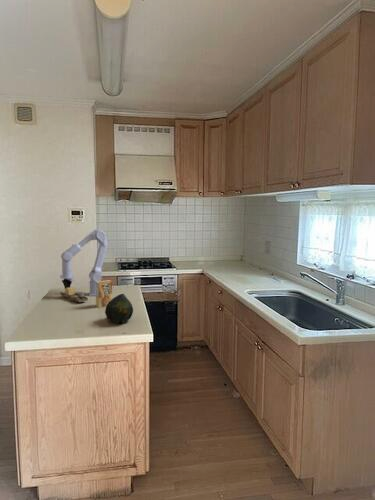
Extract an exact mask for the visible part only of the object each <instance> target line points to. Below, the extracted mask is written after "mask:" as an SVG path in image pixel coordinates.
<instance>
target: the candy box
mask: <svg viewBox="0 0 375 500" xmlns="http://www.w3.org/2000/svg"><path fill="white" fill-rule="evenodd" d="M112 299H113V281H112V280H110V279H109V280H108V279H106V280H101V281H99V282H96V296H95V303H96V304H95V306H96V307H97V308H99V309H100V308H106V306H107V304H108V303H109V302H110V301H111V300H112Z"/></svg>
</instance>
